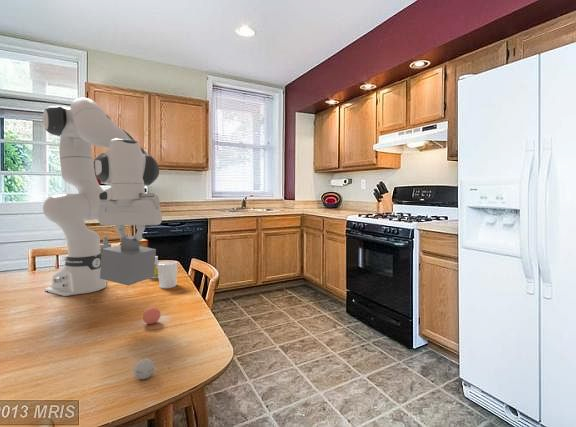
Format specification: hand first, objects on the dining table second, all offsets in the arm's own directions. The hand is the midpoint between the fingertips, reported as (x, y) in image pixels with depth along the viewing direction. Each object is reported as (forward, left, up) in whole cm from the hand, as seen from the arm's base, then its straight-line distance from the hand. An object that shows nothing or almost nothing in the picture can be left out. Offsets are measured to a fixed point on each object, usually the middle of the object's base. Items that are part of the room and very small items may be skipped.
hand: (131, 240), depth 93 cm
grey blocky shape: (-2, 0, -11) cm, 11 cm away
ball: (+5, +1, -23) cm, 24 cm away
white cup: (-13, +34, -26) cm, 45 cm away
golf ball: (+23, -23, -26) cm, 41 cm away
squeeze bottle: (-55, +44, -26) cm, 75 cm away
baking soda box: (-43, +52, -26) cm, 73 cm away
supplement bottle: (-28, +44, -26) cm, 59 cm away
